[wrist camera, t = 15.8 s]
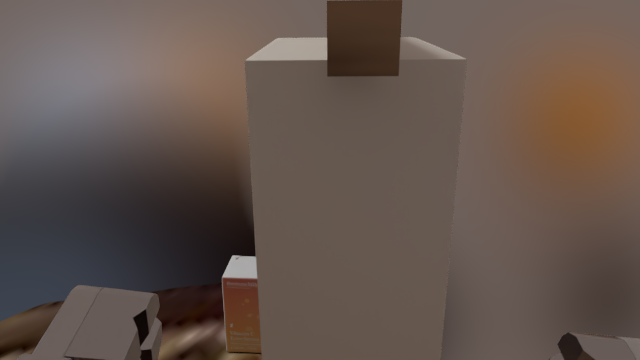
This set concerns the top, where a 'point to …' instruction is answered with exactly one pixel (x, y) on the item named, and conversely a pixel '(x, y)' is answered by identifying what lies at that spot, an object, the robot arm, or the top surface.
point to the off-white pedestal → (353, 201)
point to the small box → (241, 305)
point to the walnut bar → (363, 38)
